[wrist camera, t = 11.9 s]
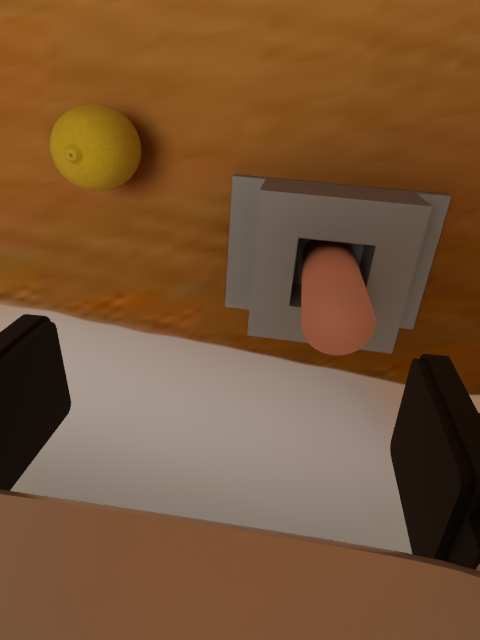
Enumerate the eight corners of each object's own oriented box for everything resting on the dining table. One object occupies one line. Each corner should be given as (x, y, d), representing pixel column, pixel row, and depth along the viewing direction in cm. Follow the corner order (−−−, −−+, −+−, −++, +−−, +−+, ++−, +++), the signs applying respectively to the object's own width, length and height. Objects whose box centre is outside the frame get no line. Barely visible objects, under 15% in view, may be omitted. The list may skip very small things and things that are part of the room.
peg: (357, 234, 33) (382, 294, 22) (348, 282, 35) (367, 359, 24) (305, 229, 33) (306, 286, 23) (299, 277, 35) (296, 350, 25)
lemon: (72, 138, 33) (9, 148, 26) (118, 85, 31) (63, 81, 24) (122, 194, 35) (76, 218, 28) (169, 148, 33) (132, 161, 26)
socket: (448, 194, 32) (473, 210, 27) (410, 325, 37) (426, 357, 32) (234, 174, 33) (222, 186, 28) (226, 303, 38) (215, 331, 33)
